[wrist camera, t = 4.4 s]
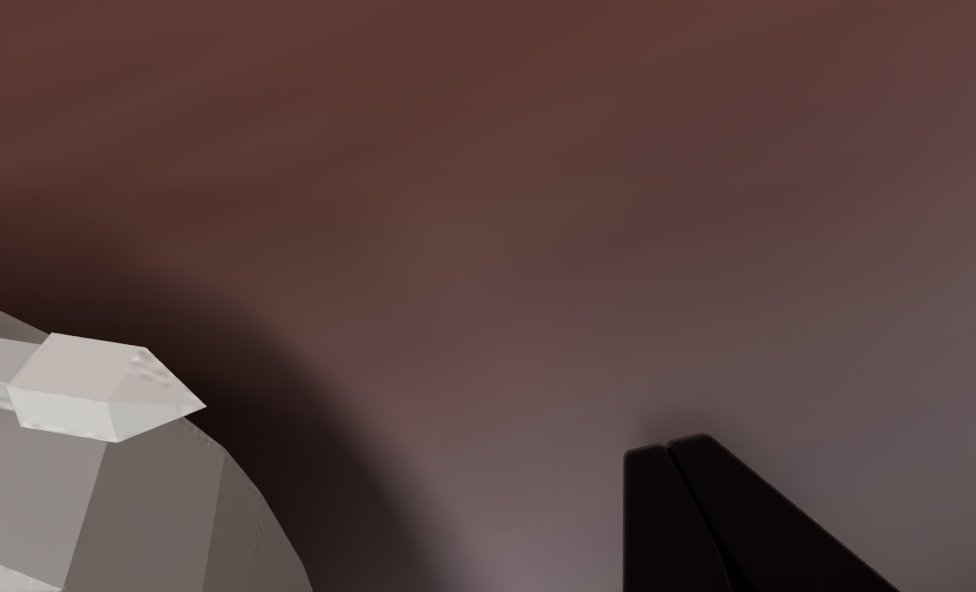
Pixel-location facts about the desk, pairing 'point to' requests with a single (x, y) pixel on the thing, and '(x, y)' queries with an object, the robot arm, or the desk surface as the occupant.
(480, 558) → the desk surface
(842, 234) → the desk surface
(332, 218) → the desk surface
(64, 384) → the robot toy
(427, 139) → the desk surface
